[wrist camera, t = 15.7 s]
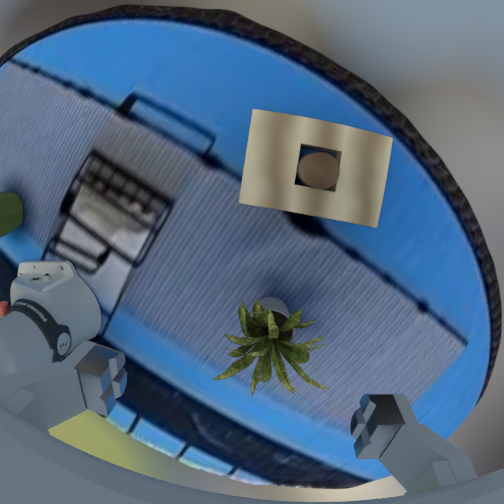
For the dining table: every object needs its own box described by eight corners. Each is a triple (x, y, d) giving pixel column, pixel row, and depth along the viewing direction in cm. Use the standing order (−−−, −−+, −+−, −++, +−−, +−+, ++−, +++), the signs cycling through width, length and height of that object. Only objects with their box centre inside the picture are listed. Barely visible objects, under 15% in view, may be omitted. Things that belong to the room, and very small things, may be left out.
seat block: (242, 199, 42) (238, 203, 38) (255, 115, 39) (252, 109, 34) (366, 221, 42) (376, 228, 37) (380, 140, 38) (392, 137, 34)
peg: (291, 182, 41) (299, 187, 31) (294, 152, 40) (304, 148, 30) (320, 186, 41) (337, 192, 31) (324, 157, 40) (342, 154, 30)
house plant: (338, 285, 45) (366, 342, 29) (305, 357, 49) (313, 427, 33) (248, 256, 45) (233, 304, 29) (223, 333, 48) (202, 400, 33)
